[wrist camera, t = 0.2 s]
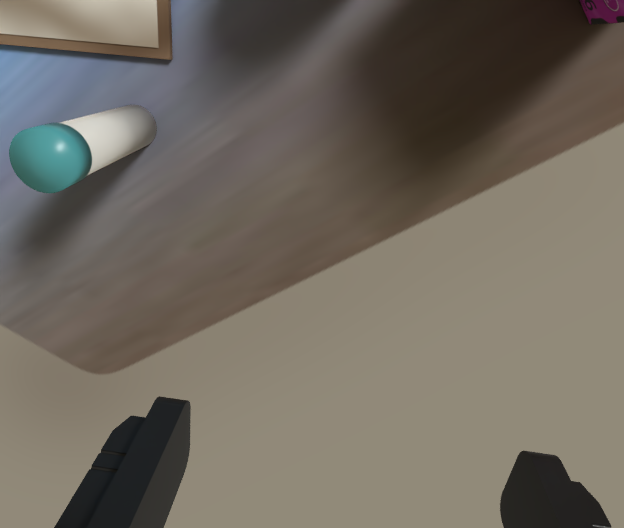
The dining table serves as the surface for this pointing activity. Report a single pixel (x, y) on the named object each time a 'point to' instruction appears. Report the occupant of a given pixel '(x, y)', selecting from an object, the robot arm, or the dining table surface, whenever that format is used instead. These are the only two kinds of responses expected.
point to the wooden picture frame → (90, 26)
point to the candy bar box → (603, 11)
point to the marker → (79, 146)
